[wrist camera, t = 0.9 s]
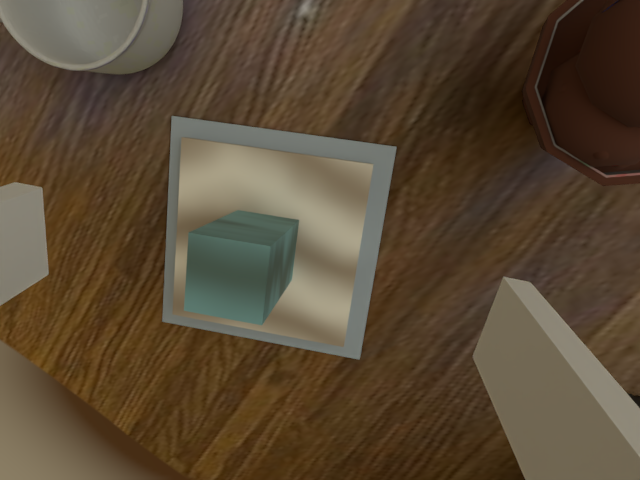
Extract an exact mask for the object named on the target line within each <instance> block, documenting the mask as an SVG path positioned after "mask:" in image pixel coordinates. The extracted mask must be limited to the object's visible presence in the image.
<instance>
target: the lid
mask: <svg viewBox="0 0 640 480" xmlns="http://www.w3.org/2000/svg"><path fill="white" fill-rule="evenodd" d="M373 165H374V164H371V163H364V162H357V161H350V160H343V159H336V158H329V157H321V156H314V155H307V154H300V153H293V152H286V151H279V150H272V149H265V148H258V147H251V146H244V145H237V144H230V143H223V142H216V141H209V140H202V139H195V138H188V137H182V139H181V158H180V177H179V197H178V216H177V235H176V255H175V274H174V293H173V313H172V315H178V316H183V317H188V318H193V319H199V320H204V321H209V322H214V323H220V324H225V325H230V326H235V327H241V328H246V329H251V330H256V331H262V332H267V333H272V334H277V335H283V336H288V337H293V338H298V339H304V340H309V341H314V342H319V343H325V344H330V345H335V346H340V347H344V343H345V337H346V331H347V325H348V319H349V313H350V307H351V300H352V294H353V288H354V282H355V276H356V270H357V263H358V257H359V251H360V245H361V239H362V233H363V226H364V220H365V214H366V208H367V202H368V196H369V189H370V183H371V177H372V171H373Z"/></svg>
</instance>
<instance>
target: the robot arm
mask: <svg viewBox="0 0 640 480" xmlns="http://www.w3.org/2000/svg"><path fill="white" fill-rule="evenodd" d="M48 274H49V271H48V258H47V245H46V231H45V218H44V205H43V191H42V187H37V186H32V185H27V184H22V183H16V182H15V183H12V184H8V185H5V186H2V187H0V306H1V305H2V304H4V303H5V302H7V301H8V300H10V299H11V298H13V297H15V296H16V295H18V294H19V293H21V292H22V291H24V290H25V289H27V288H28V287H30V286H31V285H33V284H35V283H36V282H38V281H39V280H41V279H42V278H44V277H45V276H47V275H48ZM473 359H474V362H475V364H476V366H477V368H478V371H479V373H480V375H481V378H482V380H483V382H484V385H485V387H486V389H487V392H488V394H489V396H490V399H491V401H492V403H493V406H494V408H495V410H496V413H497V415H498V417H499V420H500V422H501V424H502V427H503V429H504V431H505V434H506V436H507V438H508V441H509V443H510V445H511V448H512V450H513V452H514V455H515V457H516V459H517V462H518V464H519V466H520V469H521V471H522V473H523V476H524V478H525V480H640V397H634V396H633V395H632V394H628V393H626V392H625V391H624V389H623V388H622V387H621V386H620V385H619V384H618V383H617V381H616V380H615V379H614V378H613V377H612V376H611V374H610V373H609V372H608V371H607V370H606V369H605V368H604V366H603V365H602V364H601V363H600V362H599V361H598V359H597V358H596V357H595V356H594V355H593V354H592V353H591V351H590V350H589V349H588V348H587V347H586V346H585V345H584V343H583V342H582V341H581V340H580V339H579V338H578V336H577V335H576V334H575V333H574V332H573V331H572V330H571V328H570V327H569V326H568V325H567V324H566V323H565V322H564V320H563V319H562V318H561V317H560V316H559V315H558V313H557V312H556V311H555V310H554V309H553V308H552V307H551V305H550V304H549V303H548V302H547V301H546V300H545V299H544V297H543V296H542V295H541V294H540V293H539V292H538V290H537V289H536V288H535V287H534V286H533V285H532V284H531V282H527V281H522V280H517V279H512V278H506V277H503V279H502V281H501V284H500V287H499V289H498V292H497V294H496V297H495V300H494V302H493V305H492V307H491V310H490V313H489V315H488V318H487V320H486V323H485V325H484V328H483V331H482V333H481V336H480V338H479V341H478V344H477V346H476V349H475V351H474V354H473Z"/></svg>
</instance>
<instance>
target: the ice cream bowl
mask: <svg viewBox="0 0 640 480" xmlns="http://www.w3.org/2000/svg"><path fill="white" fill-rule="evenodd" d="M522 93H523V96H524V98H523V104H524V107H525V110H526V113H527V116H528V119H529V122H530V124H531V125H533V126H534V129H535V131H536V134H537V137H538V140H539V143H540V146H541V148H542V149H543V150H545V151H546V152H548V153H550V154H551V155H553V156H555V157H556V158H558V159H560V160H561V161H563V162H564V163H566V164H568V165H569V166H571V167H573V168H574V169H576V170H578V171H579V172H581V173H583V174H584V175H586V176H588V177H589V178H591V179H592V180H594V181H596V182H597V183H599V184H601V185H602V186H609V185H622V184H635V183H640V0H566V1H565V2H564V3H563V4H562V5H561V6H560V7H558V8H557V9H556V10H555V11H554V12H553V13H551V14H550V15H549V17H548V18H547V20H546V22H545V24H544V25H543V28H542V31H541V34H540V37H539V40H538V43H537V46H536V49H535V52H534V56H533V59H532V62H531V65H530V68H529V71H528V74H527V77H526V80H525V83H524V86H523V90H522Z"/></svg>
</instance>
